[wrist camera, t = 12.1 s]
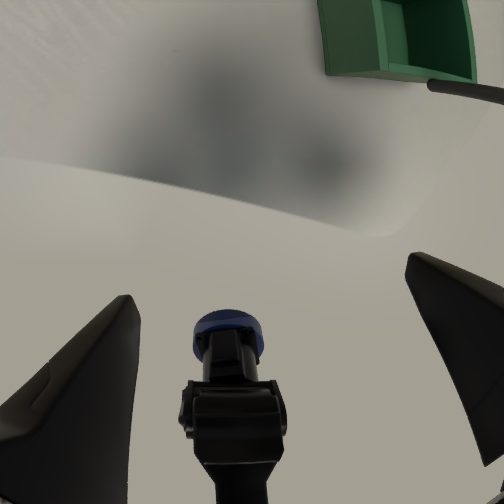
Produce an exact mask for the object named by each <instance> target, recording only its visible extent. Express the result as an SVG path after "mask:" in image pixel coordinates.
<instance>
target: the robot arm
mask: <svg viewBox="0 0 504 504" xmlns="http://www.w3.org/2000/svg"><path fill="white" fill-rule="evenodd" d="M405 279H406V282H407V285H408V286H409V289H410V291H411V293H412V296H413V298H414V300H415V303H416V305H417V307H418V310H419V312H420V314H421V317H422V319H423V320H424V322H425V324H426V326H427V328H428V330H429V332H430V334H431V336H432V338H433V340H434V342H435V344H436V346H437V348H438V350H439V352H440V354H441V356H442V358H443V361H444V363H445V365H446V367H447V369H448V371H449V374H450V376H451V378H452V380H453V383H454V385H455V387H456V389H457V392H458V394H459V397H460V399H461V402H462V404H463V407H464V409H465V412H466V414H467V416H468V420H469V423H470V425H471V428H472V431H473V434H474V437H475V440H476V442H477V446H478V449H479V452H480V455H481V459H482V462H483V464H484V467H486V466H488V465H489V464H491V463H492V462H493V461H495V460H496V459H498V458H499V457H500V456H502V455H503V454H504V288H503V287H501V286H499V285H497V284H495V283H493V282H491V281H488V280H486V279H484V278H482V277H479V276H477V275H475V274H473V273H471V272H468V271H466V270H464V269H461V268H459V267H457V266H454V265H452V264H450V263H447V262H445V261H442V260H440V259H438V258H435V257H433V256H430V255H428V254H425V253H423V252H415V253H411V254H410V255H409V257H408V261H407V266H406V271H405ZM140 325H141V318H140V314H139V311H138V309H137V307H136V305H135V302H134V300H133V298H132V296H131V295H121V296H118V297H116V298H115V299H114V300H113V301H112V302H111V303H110V304H109V305H107V306H106V307H105V308H104V309H103V310H102V311H101V312H100V313H99V314H98V315H96V316H95V318H93V319H92V320H91V321H90V322H89V323H88V324H87V325H86V326H85V327H84V328H82V330H80V331H79V332H78V333H77V334H76V335H75V336H74V337H73V338H72V339H71V340H70V341H69V342H68V343H67V344H66V345H65V346H64V347H63V348H62V349H60V350H59V351H58V352H57V353H56V354H55V355H54V356H53V357H52V358H51V359H50V360H49V363H46V364H45V365H44V366H43V367H42V368H41V369H40V370H39V371H38V372H37V373H36V374H35V375H34V376H33V377H32V378H31V379H30V380H29V381H28V382H27V383H26V384H24V385H23V386H22V387H21V388H20V389H19V390H18V391H17V392H16V393H14V394H13V395H12V396H11V397H10V398H9V399H8V400H7V401H5V402H4V403H3V404H2V405H1V406H0V504H127V491H128V483H127V482H128V461H129V446H130V432H131V422H132V412H133V402H134V394H135V386H136V379H137V372H138V364H139V345H140ZM250 330H252V331H250ZM195 341H196V344H197V347H198V349H199V352H200V355H201V358H202V360H203V382H200V381H199V382H197V381H193V380H188V386H187V387H186V389H184V390H183V391H182V404H181V409H180V413H179V418H178V421H179V423H180V424H181V425H182V426H183V427H184V431H185V432H186V437H187V439H193V440H194V454H195V456H196V457H197V459H198V460H199V461H200V463H201V465H202V466H203V467H204V469H205V470H206V472H207V473H208V475H209V476H210V477H211V479H212V480H213V482H214V483H215V489H216V504H268V497H267V487H266V481H267V480H268V478H269V476H270V474H271V472H272V471H273V469H274V467H275V465H276V463H277V462H279V460H280V459H281V457H282V454H283V452H284V446H283V439H282V438H283V437H282V436H285V434H286V430H287V414H286V408H285V404H284V402H283V399H282V396H281V393H280V390H279V388H278V385H277V382H276V380H270V381H258V375H257V367H256V365H258V364H259V356H258V349H257V342H256V335H255V328H254V327H252V326H247V327H240V328H232V329H224V330H216V331H207V332H198V333H196V334H195ZM500 491H501V493H500V494H499V495H497V496H496V497H495V498H493V499H492V500H491V501H489V502H488V503H487V504H504V480H503V483H502V487H501V490H500Z"/></svg>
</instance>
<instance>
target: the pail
mask: <svg viewBox="0 0 504 504" xmlns="http://www.w3.org/2000/svg"><path fill="white" fill-rule="evenodd" d="M317 2H318V8H319V15H320V23H321V30H322V38H323V47H324V56H325V66H326V75H327V76H351V77H367V78H379V79H389V80H397V81H405V82H416V83H427V88H428V89H429V90H430V91H432V92H439V93H446V94H453V95H459V96H465V97H470V98H475V99H480V100H485V101H489V102H494V103H498V104H502V105H504V88H499V87H493V86H487V85H481V84H477V68H476V56H475V46H474V38H473V31H472V25H471V19H470V14H469V8H468V4H467V0H317Z"/></svg>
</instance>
